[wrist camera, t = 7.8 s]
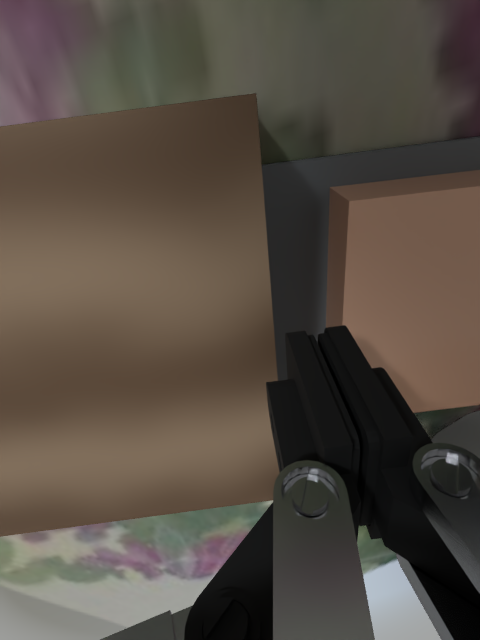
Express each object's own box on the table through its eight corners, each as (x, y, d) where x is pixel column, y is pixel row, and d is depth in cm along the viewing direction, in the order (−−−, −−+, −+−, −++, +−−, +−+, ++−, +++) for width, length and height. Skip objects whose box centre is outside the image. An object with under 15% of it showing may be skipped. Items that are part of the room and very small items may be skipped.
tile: (554, 177, 11) (506, 166, 12) (349, 201, 11) (329, 187, 12) (479, 404, 15) (452, 374, 17) (336, 422, 15) (324, 389, 17)
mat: (254, 165, 12) (255, 167, 12) (615, 118, 12) (624, 118, 12) (275, 408, 18) (275, 413, 18) (520, 375, 18) (525, 379, 18)
